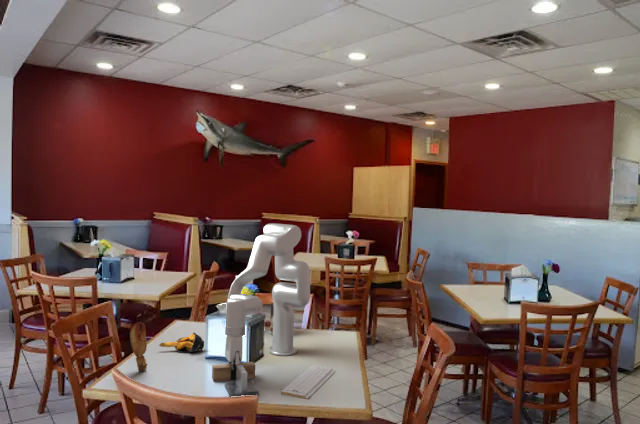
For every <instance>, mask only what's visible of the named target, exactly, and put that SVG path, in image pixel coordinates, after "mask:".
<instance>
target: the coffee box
mask: <svg viewBox="0 0 640 424" xmlns="http://www.w3.org/2000/svg"><path fill="white" fill-rule="evenodd" d="M273 315H274V306H273V302H272V303H271V304H270V322H269V323H270V324H269V335H272V336H273Z"/></svg>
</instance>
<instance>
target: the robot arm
mask: <svg viewBox="0 0 640 424" xmlns="http://www.w3.org/2000/svg"><path fill="white" fill-rule="evenodd" d="M262 232H263V234H261V235H260V234H259V235H258V236H257V237H255V240H254V243H253V247H252V250H251V254H250V257H249V260H248V263H247V266H246V268H245V269H244V270H243V271H241V272H240V273H239V274H238V275H237V276H238V277H237V278H236V277H235V279H234V280H233V282H232V283H231V285H230V288H229V291H228V293H227V294H228V295H227V299H226V302H225V303H226V327H225V335H227V337H225V351H224V356H225V358H226V360H227V361H228V364H232V369H231V380H230V381H236V380H235V379H236V368H237V365H240V363H242V359H243V337H242V336H243V335H245V317H246V316H247V315H252V316H254V315H257V314H258V313H259V312H261V310H262V307H263V302H262V299H261V298H260V297H258V296H257V295H253V294H252V295H246V294H241V291H242V289H243V287H244V286H245V285H246V284H247V283H248V282H250V281H252V280H253V281H255V279H260V278H262V277H264V276H266V275H267V273H268V270H269V268H270V263H271V260H272V256H274V274H275V276H276V278H277V280H281V281H280V282H277V283H275V284H274V286H273V287H272V290H271V295H272V297H271V298H272V303H273V306H274V315H273V335H272V343H271V344H272V345H271V346H270V347H268V352H269V354H272V355H275V356H281V357H282V356H290V355H291V356H292V355H294V354H296V353H297V348H296V347H294V335H295V334H294V331H295V330H294V329H295V311H294V308H293V306H297V307H305V306H307V305H308V304H309V302H310V298H311V271H310V269H311V268H310V266H309V265H308V263H307V262H306V261H304V260H295V258H294V257H295V255H294V248H295V247H296V246H297V245H298V244H299V242H300V241H301V238H302V231H301V228H300V227H299V226H297V225H296V224H295V225H294V224H285V223H284V224H283V223H267V224H265V226H263V231H262ZM282 281H283V282H282ZM284 281H286V282H284ZM292 282H295V283H292ZM234 363H235V364H234Z"/></svg>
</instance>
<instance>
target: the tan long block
mask: <svg viewBox="0 0 640 424" xmlns="http://www.w3.org/2000/svg"><path fill="white" fill-rule="evenodd" d="M239 363H240V365H242V366H243V367H244V369H245V370H246V372H247V373H248V374H247V379H255V378H256V364H255V363H254V361H247V362H245V361H244V362H239ZM234 364H235V363H234ZM231 369H232V364H229V363H222V364H221V363H220V364H212V368H211V371H212V373H211V379H212V381H213V382H221V381H223V382H224V381H232V380H231ZM234 381H236V379H235V380H234Z"/></svg>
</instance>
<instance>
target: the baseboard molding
mask: <svg viewBox="0 0 640 424" xmlns="http://www.w3.org/2000/svg"><path fill="white" fill-rule="evenodd" d="M335 372H336V370H334V369H333V368H328V367H324V366H318V365H310V366H309V367H308V368H307V369H306V370H305V371H303V372H302V373H301V374H300V375H298V376H297V377H296V378H295V379H294V380H293V381H292V382H290V383H289V384H288V385H287V386H286V387H284V388H283V389H282V388H281V389H280V390H281V391H280V394H281V395H283V396H289V397H295V398H301V399H305V400H311V398H312V396H313V395H315V393H316V392H317V391H318V389H320V387H322V386H323V384H325V383H326V382H327V380H329V379H330V378H331V377H332V375H333V374H334V373H335Z"/></svg>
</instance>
